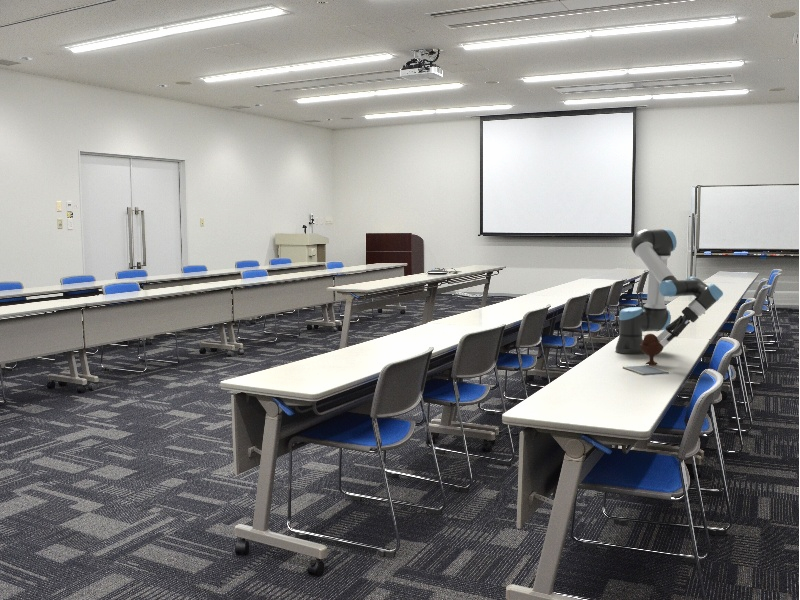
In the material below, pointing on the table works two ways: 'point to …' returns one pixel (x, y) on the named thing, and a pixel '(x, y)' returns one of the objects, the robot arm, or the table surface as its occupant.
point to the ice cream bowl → (651, 347)
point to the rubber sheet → (645, 369)
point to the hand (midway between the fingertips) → (659, 342)
